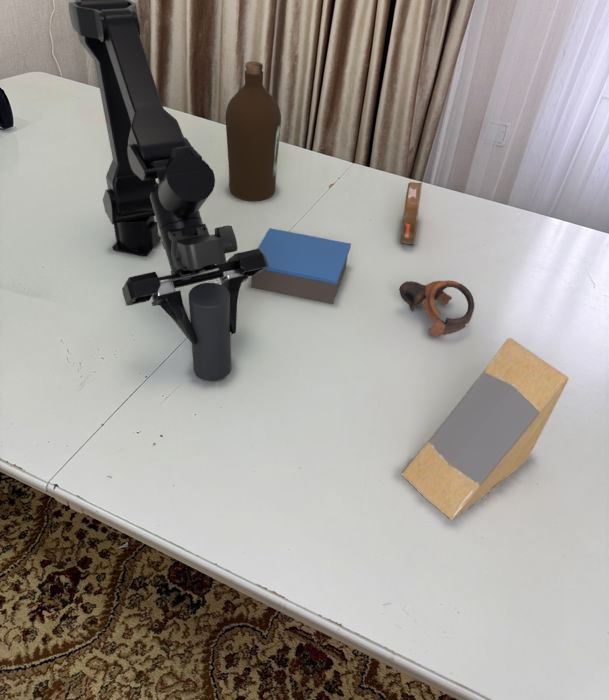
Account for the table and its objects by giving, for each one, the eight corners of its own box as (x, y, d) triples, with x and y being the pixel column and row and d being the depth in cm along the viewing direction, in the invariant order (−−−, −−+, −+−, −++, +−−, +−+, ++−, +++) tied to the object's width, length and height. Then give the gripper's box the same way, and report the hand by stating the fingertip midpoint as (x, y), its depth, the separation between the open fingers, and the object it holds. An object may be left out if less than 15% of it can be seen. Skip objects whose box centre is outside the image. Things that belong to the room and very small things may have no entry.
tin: (412, 253, 115) (421, 212, 109) (395, 250, 115) (403, 209, 109) (418, 214, 126) (426, 175, 120) (402, 211, 126) (410, 173, 121)
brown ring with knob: (462, 305, 104) (485, 285, 97) (449, 355, 101) (471, 338, 93) (397, 278, 104) (414, 256, 96) (381, 327, 100) (398, 309, 92)
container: (248, 288, 103) (249, 262, 100) (268, 252, 112) (269, 227, 108) (334, 305, 101) (337, 280, 98) (347, 267, 110) (351, 243, 106)
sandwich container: (398, 473, 77) (422, 387, 67) (477, 419, 84) (508, 335, 74) (451, 522, 72) (485, 437, 62) (529, 460, 80) (570, 376, 70)
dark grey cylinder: (187, 376, 86) (182, 302, 77) (201, 352, 90) (197, 279, 81) (223, 384, 85) (221, 310, 77) (235, 360, 89) (235, 286, 80)
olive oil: (230, 204, 124) (228, 73, 107) (223, 179, 131) (221, 54, 115) (282, 201, 126) (288, 73, 109) (273, 177, 134) (277, 54, 117)
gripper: (116, 221, 71) (155, 352, 71) (264, 194, 78) (299, 313, 78) (107, 245, 81) (141, 360, 81) (239, 219, 88) (270, 324, 89)
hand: (214, 339), depth 82 cm, fingers closed on dark grey cylinder, 5 cm apart
